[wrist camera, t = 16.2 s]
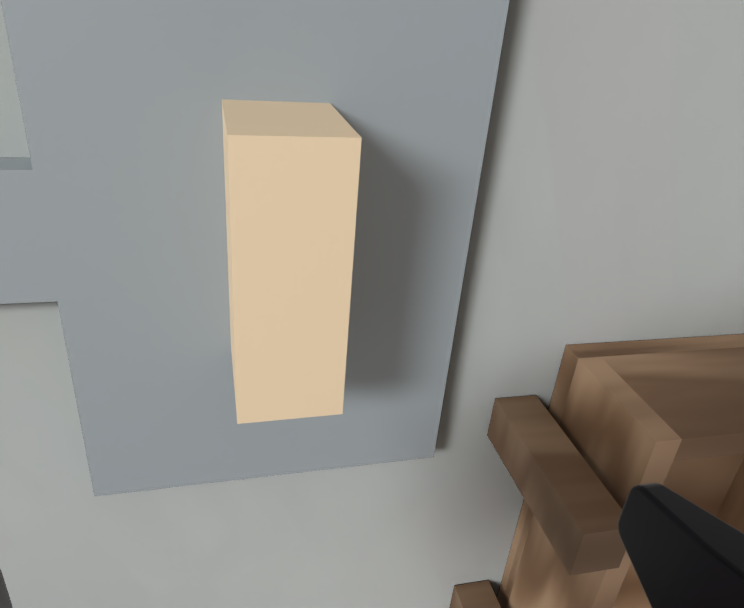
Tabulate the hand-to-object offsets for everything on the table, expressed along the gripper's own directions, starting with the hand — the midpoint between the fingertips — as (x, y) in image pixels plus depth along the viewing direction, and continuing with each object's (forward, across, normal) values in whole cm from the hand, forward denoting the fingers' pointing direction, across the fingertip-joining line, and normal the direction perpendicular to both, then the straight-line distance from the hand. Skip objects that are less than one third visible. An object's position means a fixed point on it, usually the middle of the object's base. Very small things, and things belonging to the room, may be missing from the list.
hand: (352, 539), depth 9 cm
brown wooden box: (+13, -17, +15) cm, 26 cm away
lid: (+13, +2, 0) cm, 13 cm away
